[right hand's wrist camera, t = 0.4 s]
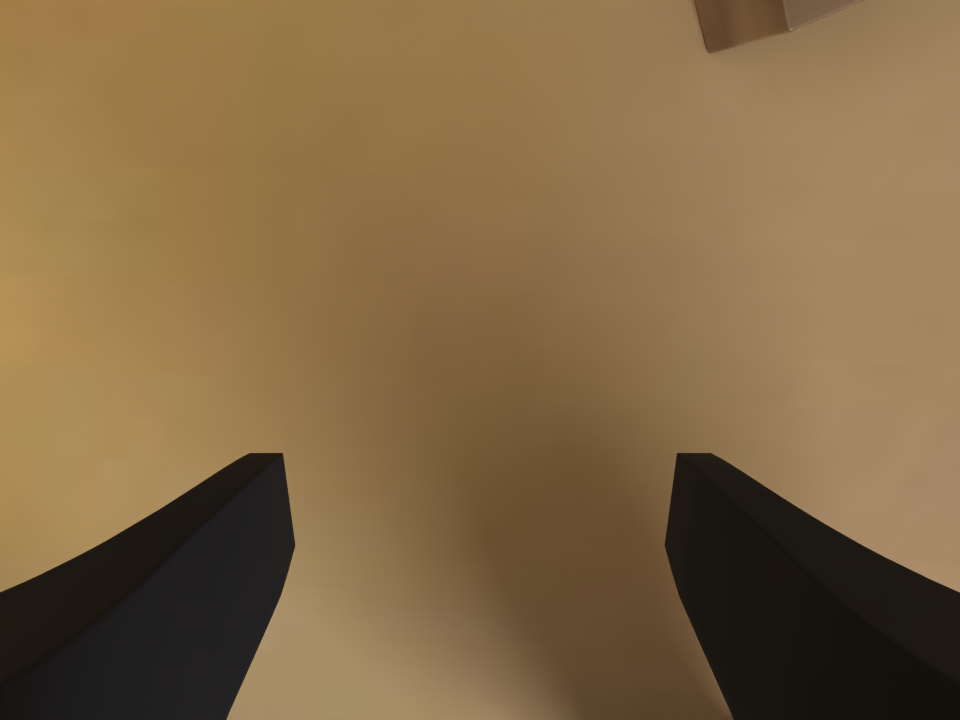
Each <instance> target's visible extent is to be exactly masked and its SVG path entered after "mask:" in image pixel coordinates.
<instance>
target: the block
mask: <svg viewBox="0 0 960 720" xmlns="http://www.w3.org/2000/svg"><path fill="white" fill-rule="evenodd" d="M860 1H863V0H695V3H696V7H697V11H698V15H699V19H700V23H701V27H702V31H703V35H704V39H705V43H706V47H707V51H708V53H714V52H718V51H722V50H725V49H729V48H733V47H736V46H740V45H744V44H747V43H751V42H755V41H758V40H762V39H766V38H769V37H773V36H777V35H780V34H784V33H788V32H791V31H794V30H796V29H798V28H801V27H803V26H805V25H807V24H810V23H812V22H814V21H817V20H819V19H821V18H824V17H826V16H828V15H830V14H833V13H835V12H837V11H840V10H842V9H844V8H847V7H849V6H851V5H854V4H856V3H858V2H860Z"/></svg>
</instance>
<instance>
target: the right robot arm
mask: <svg viewBox="0 0 960 720" xmlns="http://www.w3.org/2000/svg"><path fill="white" fill-rule="evenodd" d="M294 548H295V540H294V533H293V525H292V518H291V510H290V503H289V496H288V488H287V481H286V473H285V466H284V458H283V453H249V454H247V455H245V456H243V457H241V458H240V459H238V460H236V461H234V462H233V463H231V464H230V465H228V466H226V467H225V468H223V469H222V470H220V471H219V472H217V473H215V474H214V475H212V476H211V477H209V478H208V479H206V480H205V481H203V482H202V483H200V484H199V485H197V486H195V487H194V488H192V489H191V490H189V491H188V492H186V493H185V494H183V495H181V496H180V497H178V498H177V499H175V500H174V501H172V502H171V503H169V504H167V505H166V506H164V507H163V508H161V509H160V510H158V511H156V512H154V513H153V514H151V515H149V516H148V517H146V518H144V519H143V520H141V521H139V522H138V523H136V524H134V525H132V526H131V527H129V528H127V529H126V530H124V531H122V532H121V533H119V534H117V535H116V536H114V537H112V538H111V539H109V540H107V541H105V542H103V543H102V544H100V545H98V546H96V547H94V548H92V549H91V550H89V551H87V552H85V553H83V554H81V555H79V556H77V557H75V558H73V559H71V560H69V561H67V562H65V563H63V564H61V565H59V566H57V567H55V568H53V569H51V570H49V571H47V572H45V573H43V574H41V575H39V576H37V577H34V578H32V579H30V580H28V581H26V582H24V583H21V584H19V585H17V586H14V587H12V588H10V589H7V590H5V591H2V592H0V720H226V719H227V717H228V714H229V712H230V709H231V707H232V705H233V703H234V700H235V698H236V696H237V694H238V691H239V689H240V687H241V685H242V682H243V680H244V678H245V676H246V673H247V671H248V669H249V667H250V665H251V662H252V660H253V658H254V656H255V653H256V651H257V649H258V647H259V644H260V642H261V640H262V638H263V635H264V633H265V631H266V629H267V626H268V624H269V622H270V619H271V617H272V615H273V613H274V610H275V608H276V606H277V603H278V601H279V599H280V596H281V593H282V590H283V587H284V583H285V580H286V577H287V574H288V570H289V566H290V563H291V559H292V555H293V552H294ZM665 548H666V552H667V556H668V559H669V563H670V567H671V570H672V574H673V577H674V580H675V584H676V587H677V590H678V593H679V596H680V599H681V601H682V603H683V606H684V608H685V610H686V613H687V615H688V617H689V620H690V622H691V624H692V626H693V629H694V631H695V633H696V636H697V638H698V640H699V642H700V644H701V647H702V649H703V651H704V653H705V656H706V658H707V660H708V662H709V665H710V667H711V669H712V671H713V674H714V676H715V678H716V680H717V683H718V685H719V687H720V689H721V691H722V694H723V696H724V698H725V700H726V703H727V705H728V707H729V709H730V712H731V714H732V717H733V719H734V720H960V593H959V592H957V591H955V590H953V589H950V588H948V587H946V586H944V585H941V584H939V583H937V582H935V581H932V580H930V579H928V578H926V577H924V576H922V575H920V574H918V573H916V572H914V571H912V570H910V569H908V568H906V567H904V566H902V565H899V564H897V563H895V562H893V561H891V560H889V559H887V558H885V557H883V556H881V555H879V554H878V553H876V552H874V551H872V550H870V549H868V548H866V547H864V546H862V545H861V544H859V543H857V542H855V541H854V540H852V539H850V538H848V537H847V536H845V535H843V534H841V533H840V532H838V531H836V530H834V529H833V528H831V527H829V526H827V525H826V524H824V523H822V522H821V521H819V520H817V519H816V518H814V517H812V516H811V515H809V514H807V513H806V512H804V511H803V510H801V509H799V508H798V507H796V506H794V505H793V504H791V503H790V502H788V501H787V500H785V499H783V498H782V497H780V496H779V495H777V494H776V493H774V492H773V491H771V490H770V489H768V488H766V487H765V486H763V485H762V484H760V483H759V482H757V481H756V480H754V479H753V478H751V477H750V476H748V475H746V474H745V473H743V472H742V471H740V470H739V469H737V468H736V467H734V466H732V465H731V464H729V463H727V462H726V461H724V460H722V459H721V458H719V457H717V456H715V455H713V454H711V453H677V458H676V466H675V473H674V480H673V488H672V495H671V503H670V510H669V518H668V525H667V533H666V540H665Z"/></svg>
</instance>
